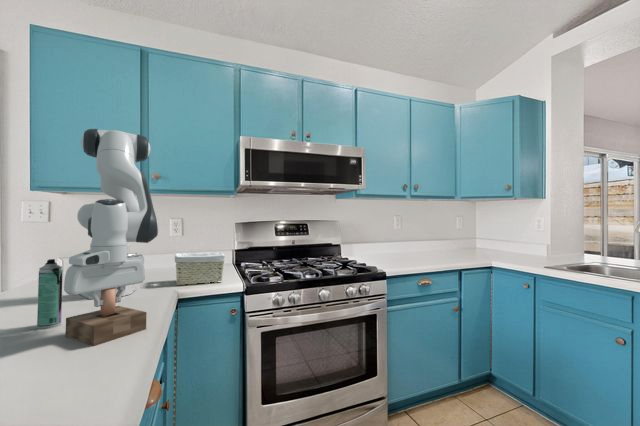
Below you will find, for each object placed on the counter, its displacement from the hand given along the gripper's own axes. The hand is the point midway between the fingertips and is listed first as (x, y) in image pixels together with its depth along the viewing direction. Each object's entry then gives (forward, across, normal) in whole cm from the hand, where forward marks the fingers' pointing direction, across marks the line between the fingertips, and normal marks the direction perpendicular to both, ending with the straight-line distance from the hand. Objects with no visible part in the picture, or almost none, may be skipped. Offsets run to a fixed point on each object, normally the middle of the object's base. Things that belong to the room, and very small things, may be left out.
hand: (107, 304), depth 89 cm
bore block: (+8, 0, 0) cm, 8 cm away
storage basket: (+8, -64, -35) cm, 74 cm away
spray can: (+8, +5, -21) cm, 23 cm away
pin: (+3, 0, 0) cm, 3 cm away
